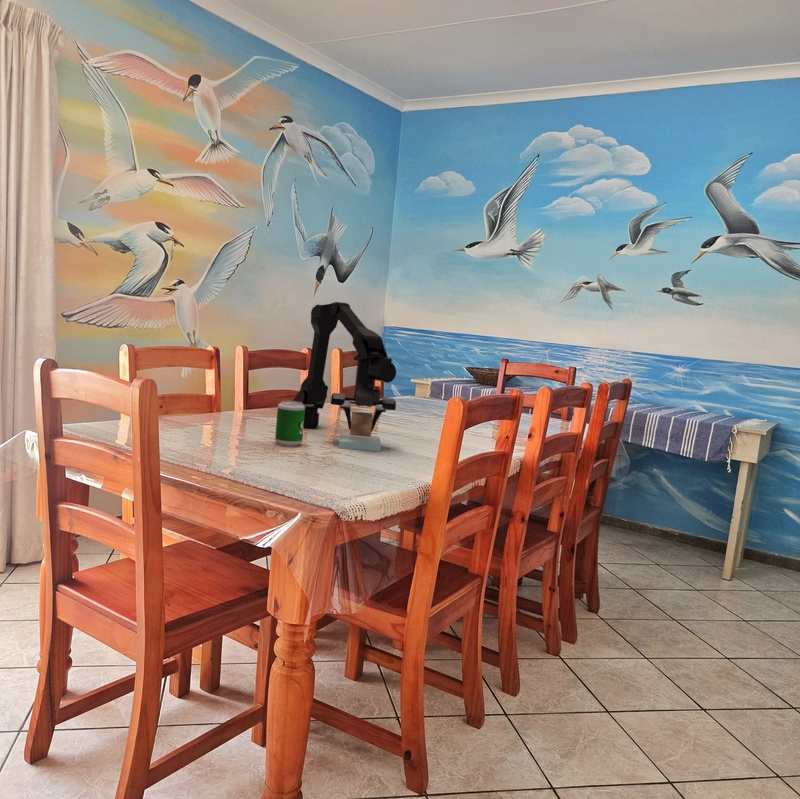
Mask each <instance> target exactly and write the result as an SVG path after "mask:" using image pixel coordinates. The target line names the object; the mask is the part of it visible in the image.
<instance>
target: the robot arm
mask: <svg viewBox="0 0 800 799" xmlns="http://www.w3.org/2000/svg"><path fill="white" fill-rule="evenodd" d="M338 322H340V323H341V325H343V327H344V328H345V330H346V331H347V332H348V333H349V335H350V336H351V338H352V345H353V347H354V349H355V351H356V353H357V354H356V355H355V356H354V357H353V360H354V361H357V362H356V371H355V372H356V373H355V382H354V383H355V385H354V392H353V393H354V395H353V397H352V396H346V393H339V392H333V393H332V394H331V398H330V405H333V406H335V405H336V406H339V408H340V409H343V411H344V414H345V417H346V420H347V427H348V430H349V431H350V429H351V417H352V411H351V404H352V405H353V404H355V406H357V407H361V406H363V407H367V408H371V407H374V412H373V414H372V415H373V420H372V430H371V433H373V430H374V429H375V427H376V424H377V422H378V419H379V418H380V416H381V415H382V413H386V412H387V411H396V406H397V402H396V400H395V398H391V397H381V390H380V389H375V387H376V381H377V382H381V383H386V384H387V383H391V382H392V381H394V379H395V378H396V376H397V370H396V366H395V365H394V363H392V361H393V360H392V358H391V357H388V353H387V351H386V348H385V344H384V341H383V338H382V337H381V336H380V334H378V333H376V332H375V330H371V329H369V328H367V327H366V326H365V324H364V323H363V322H362V321H361V319H360V318H359V317H358V316H357V315H356V313H355V312H354V310H352V308H351V305H350V304H349V303H348V302H341V301H340V302H339V301H334V302H331V303H326V304H316V305H314V306H313V307H312V308H311V311H310V324H311V326H312V328H313V332H314V333H313V339H312V346H311V351H310V352H311V353H310V359H309V365H308V371H307V376H306V378H305V379H304V380H303V381H302V382H301V384H300V389H299V391H298V393H297V394H296V395H295V397H294V398H293V400H292V401H297V402H301V403H302V404H303V405H304V406H305V415H304V426H303V429H317V428H318V427H319V422H320V412H319V409H321V410H323V409H324V406H325V403H326V399H328V396H327V395H328V390H329V386H328V385H327V384H326V382H325V380H324V376H325V369H326V362H327V355H328V350H329V342H330V337H331V334H332V333H333V332H334V330H335V329H336V328H337V326H338ZM380 398H381V399H380Z"/></svg>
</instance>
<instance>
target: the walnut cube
mask: <svg viewBox="0 0 800 799" xmlns="http://www.w3.org/2000/svg"><path fill="white" fill-rule="evenodd" d="M373 415H374V414H373V412H364V411H363V412H361V411H351V429H350V430H349V434H350V435H355V436H366V437H371V436H372V432H371V430H372V420H373Z"/></svg>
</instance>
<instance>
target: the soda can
mask: <svg viewBox="0 0 800 799" xmlns="http://www.w3.org/2000/svg"><path fill="white" fill-rule="evenodd" d="M304 405H305V404H304ZM304 405H303V404H302V403H301V402H297V401H293V400H282V401H280V403H278V405H277V409H276V410H277V411H276V412H277V414H276V425H275V435H274V438H275V439H274V440H275V442H276V443H277V445H279V446H281V447H289V448H291V447H292V448H295V447H298V446H300V444H302V443H303V437H304V428H303V426H304V415H305V406H304Z"/></svg>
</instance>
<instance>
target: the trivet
mask: <svg viewBox="0 0 800 799" xmlns="http://www.w3.org/2000/svg"><path fill="white" fill-rule="evenodd" d="M337 447H338V449H346V450H355V451H356V450H357V451H369V452H377V453H378V452H379V453H380V452H381V448H382V442H381V437H380V436H373V435H371V437H366V436H355V435H350V433H339V436H338V446H337Z"/></svg>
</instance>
